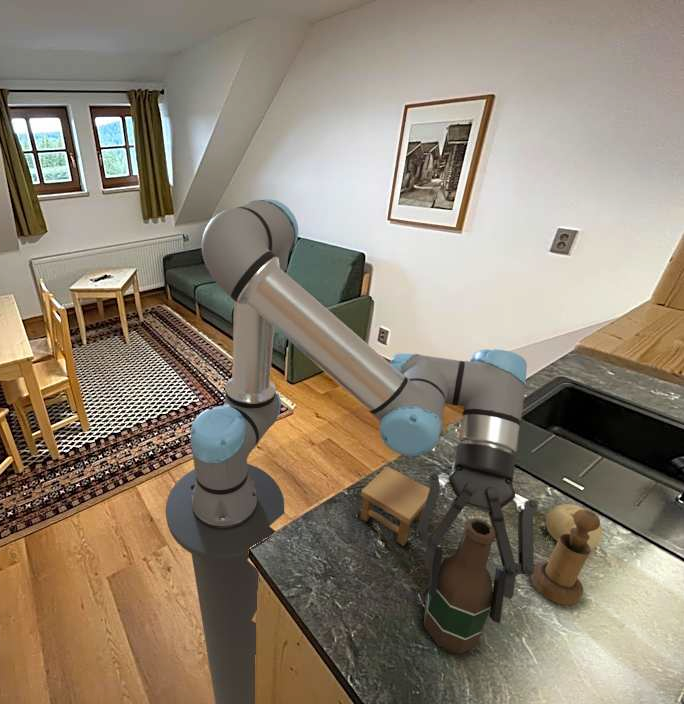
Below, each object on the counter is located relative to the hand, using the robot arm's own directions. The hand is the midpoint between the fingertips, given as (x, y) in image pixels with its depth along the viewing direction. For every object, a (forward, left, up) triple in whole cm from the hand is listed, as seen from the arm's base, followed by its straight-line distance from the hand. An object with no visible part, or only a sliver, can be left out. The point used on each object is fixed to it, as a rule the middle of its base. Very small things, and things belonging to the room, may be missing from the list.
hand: (462, 606), depth 57 cm
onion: (+7, +36, -12) cm, 39 cm away
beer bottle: (-1, +3, -12) cm, 12 cm away
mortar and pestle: (+8, +23, -12) cm, 27 cm away
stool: (-18, +17, -12) cm, 28 cm away
